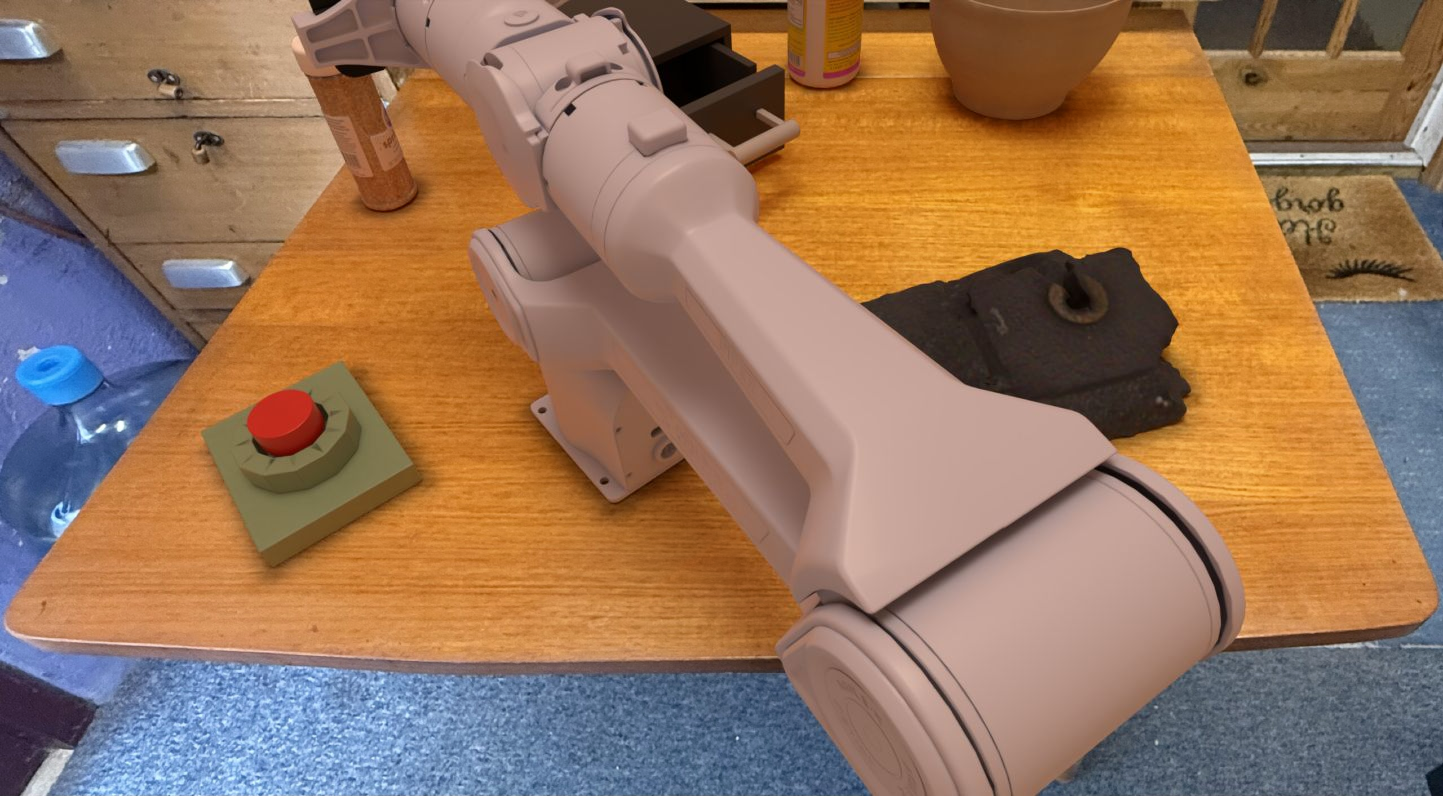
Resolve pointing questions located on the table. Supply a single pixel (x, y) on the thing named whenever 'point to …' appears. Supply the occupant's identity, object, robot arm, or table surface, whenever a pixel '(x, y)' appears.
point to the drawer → (731, 100)
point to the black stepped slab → (1052, 336)
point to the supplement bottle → (824, 41)
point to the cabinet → (661, 24)
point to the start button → (285, 422)
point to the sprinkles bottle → (361, 133)
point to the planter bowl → (1022, 50)
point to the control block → (312, 469)
